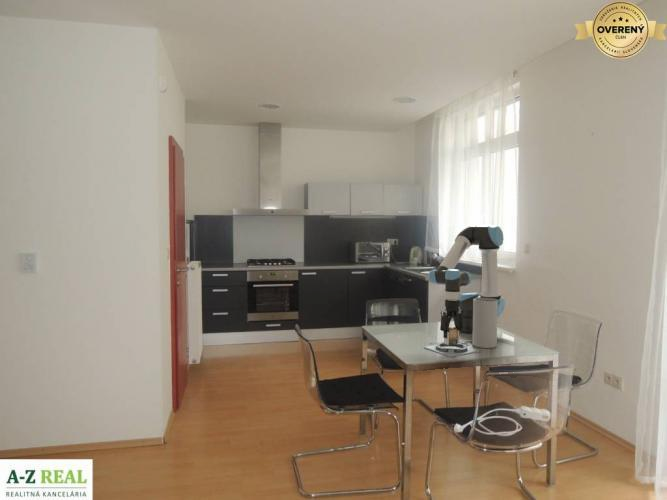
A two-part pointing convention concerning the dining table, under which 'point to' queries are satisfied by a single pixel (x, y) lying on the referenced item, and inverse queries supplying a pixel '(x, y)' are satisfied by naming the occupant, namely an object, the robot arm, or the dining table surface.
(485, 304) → the cylinder vase
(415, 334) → the dining table surface
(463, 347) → the piston ring
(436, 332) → the dining table surface
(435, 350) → the ring plate
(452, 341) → the piston
